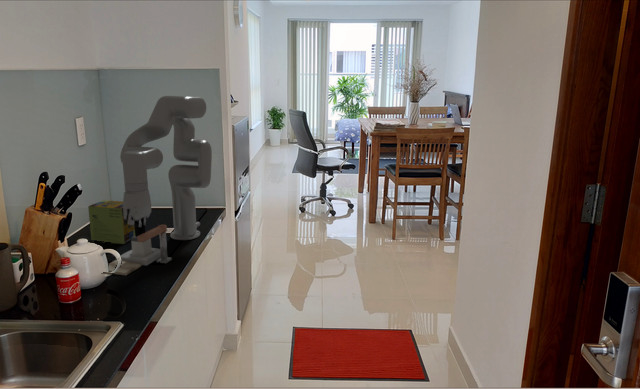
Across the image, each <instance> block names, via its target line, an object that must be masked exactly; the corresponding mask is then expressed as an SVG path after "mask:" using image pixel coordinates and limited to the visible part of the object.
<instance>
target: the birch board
mask: <svg viewBox="0 0 640 389" xmlns="http://www.w3.org/2000/svg"><path fill="white" fill-rule="evenodd" d="M117 260H118V259H114V260H113V261H112V262H110V263H108V264H109V272H111V271H113V270H114V269H115V267H116V265H117ZM141 267H142V265H141V263H134V262H127V261H122V264H121V267H120V268H119V269H118V270H117V271H116V272H115V273H114V275H118V276H120V275H121V276H127V275H129V274H131V273H132V272H134V271H136V270H137V269H139V268H141Z"/></svg>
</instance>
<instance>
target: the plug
mask: <svg viewBox="0 0 640 389" xmlns="http://www.w3.org/2000/svg"><path fill="white" fill-rule="evenodd" d="M130 242H131V250H132V256H138V257H146V256H148V255H149V254H151V253H152V248H153V247H152V238H150V239H148V240H146V241H144V242H138V238H137V237H136V236H133V237H131V240H130Z"/></svg>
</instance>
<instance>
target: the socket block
mask: <svg viewBox="0 0 640 389" xmlns="http://www.w3.org/2000/svg"><path fill="white" fill-rule="evenodd" d="M151 248H152V253H151V254H149V255H148V256H146V257H138V256H132V249H130V250H128V251H126V252H124V253H122V254H121V255H120V256H121V258H122V261H127V262H134V263H141V266H149V265H150V264H152V263H153V262H156V260H158V259H159V258H161V254H160V248H155V247H151Z"/></svg>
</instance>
